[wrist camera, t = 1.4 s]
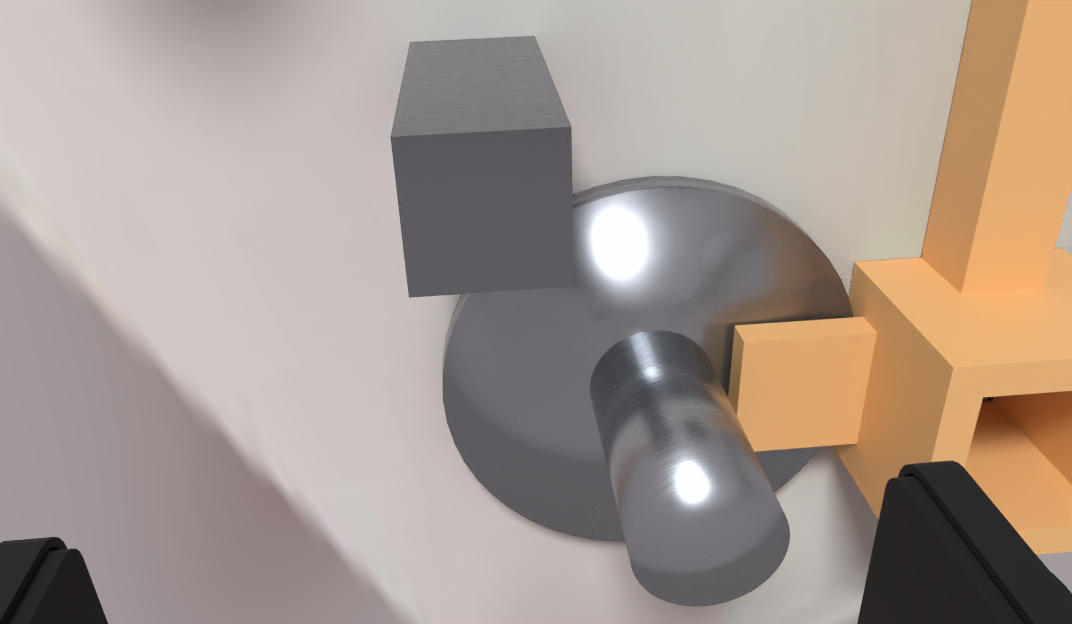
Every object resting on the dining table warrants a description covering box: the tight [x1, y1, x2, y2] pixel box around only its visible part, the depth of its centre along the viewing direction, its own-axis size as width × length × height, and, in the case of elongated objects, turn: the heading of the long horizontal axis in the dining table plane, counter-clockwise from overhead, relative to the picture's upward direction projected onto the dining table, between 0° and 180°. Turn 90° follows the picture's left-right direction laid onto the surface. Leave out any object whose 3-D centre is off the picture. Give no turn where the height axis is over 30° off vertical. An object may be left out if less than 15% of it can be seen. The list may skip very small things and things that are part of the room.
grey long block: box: [391, 36, 573, 297], centre depth 25 cm, size 4×4×10 cm
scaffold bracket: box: [728, 0, 1072, 555], centre depth 29 cm, size 13×20×8 cm, turn 2°
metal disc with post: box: [443, 176, 853, 606], centre depth 30 cm, size 16×16×10 cm
